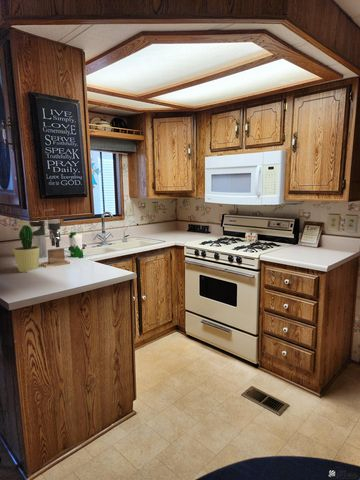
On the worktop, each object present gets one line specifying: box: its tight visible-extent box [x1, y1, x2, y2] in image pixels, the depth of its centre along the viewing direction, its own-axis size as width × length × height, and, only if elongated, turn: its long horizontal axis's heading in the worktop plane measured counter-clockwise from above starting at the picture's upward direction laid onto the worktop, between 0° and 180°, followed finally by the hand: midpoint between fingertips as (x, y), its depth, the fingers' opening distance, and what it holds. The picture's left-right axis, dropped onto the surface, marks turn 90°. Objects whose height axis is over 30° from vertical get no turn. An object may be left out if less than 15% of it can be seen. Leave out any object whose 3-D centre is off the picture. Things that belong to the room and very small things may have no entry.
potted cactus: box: [13, 224, 40, 273], centre depth 203 cm, size 15×15×30 cm
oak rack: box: [40, 259, 71, 268], centre depth 217 cm, size 11×16×2 cm
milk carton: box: [68, 231, 84, 259], centre depth 243 cm, size 9×9×20 cm
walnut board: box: [47, 247, 66, 265], centre depth 214 cm, size 3×10×12 cm, turn 130°
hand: (55, 246), depth 213 cm, fingers open, 8 cm apart
